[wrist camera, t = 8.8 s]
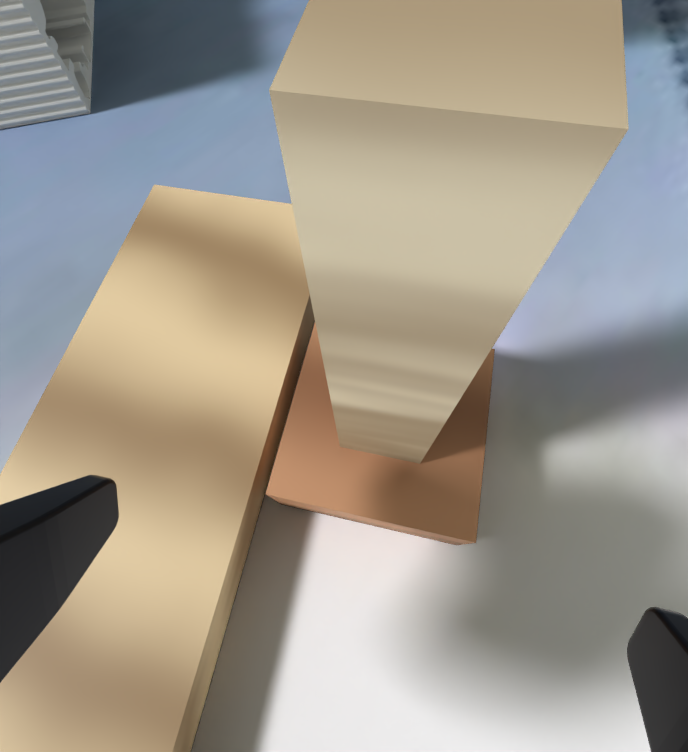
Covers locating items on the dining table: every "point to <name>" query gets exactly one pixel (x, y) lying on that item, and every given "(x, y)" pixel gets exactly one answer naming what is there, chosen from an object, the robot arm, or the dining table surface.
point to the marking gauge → (427, 230)
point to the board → (161, 468)
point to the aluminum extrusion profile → (45, 60)
